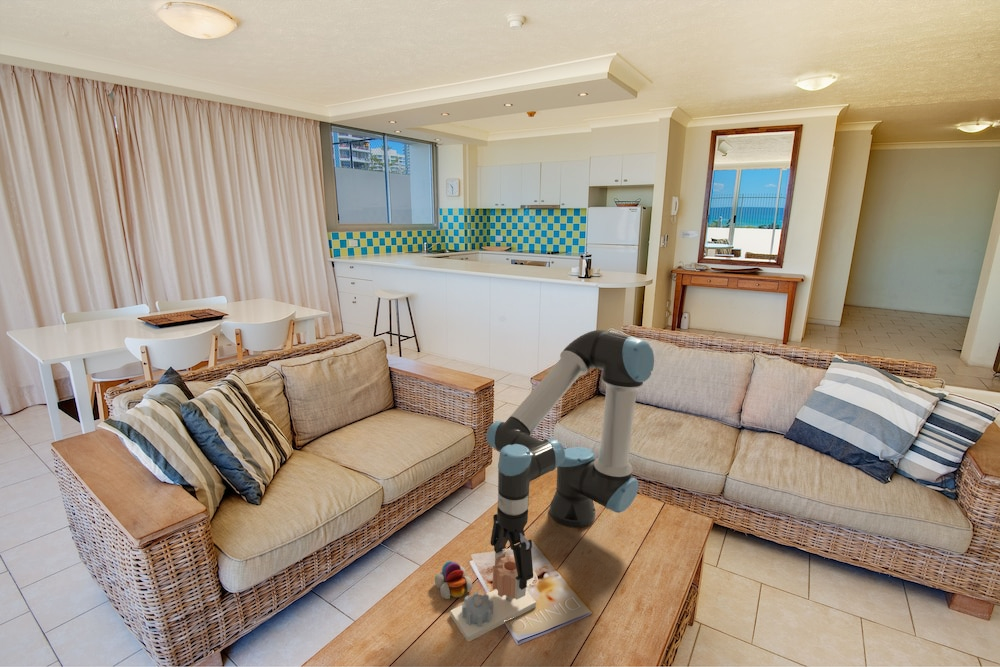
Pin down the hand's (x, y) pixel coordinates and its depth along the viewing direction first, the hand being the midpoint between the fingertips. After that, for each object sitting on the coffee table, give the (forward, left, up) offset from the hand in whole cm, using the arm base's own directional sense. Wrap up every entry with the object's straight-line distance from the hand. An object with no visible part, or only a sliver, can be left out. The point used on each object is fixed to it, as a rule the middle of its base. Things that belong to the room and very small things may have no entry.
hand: (509, 584), depth 122 cm
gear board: (0, -5, -6) cm, 7 cm away
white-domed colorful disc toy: (-12, -10, -6) cm, 17 cm away
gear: (0, 0, 0) cm, 0 cm away
